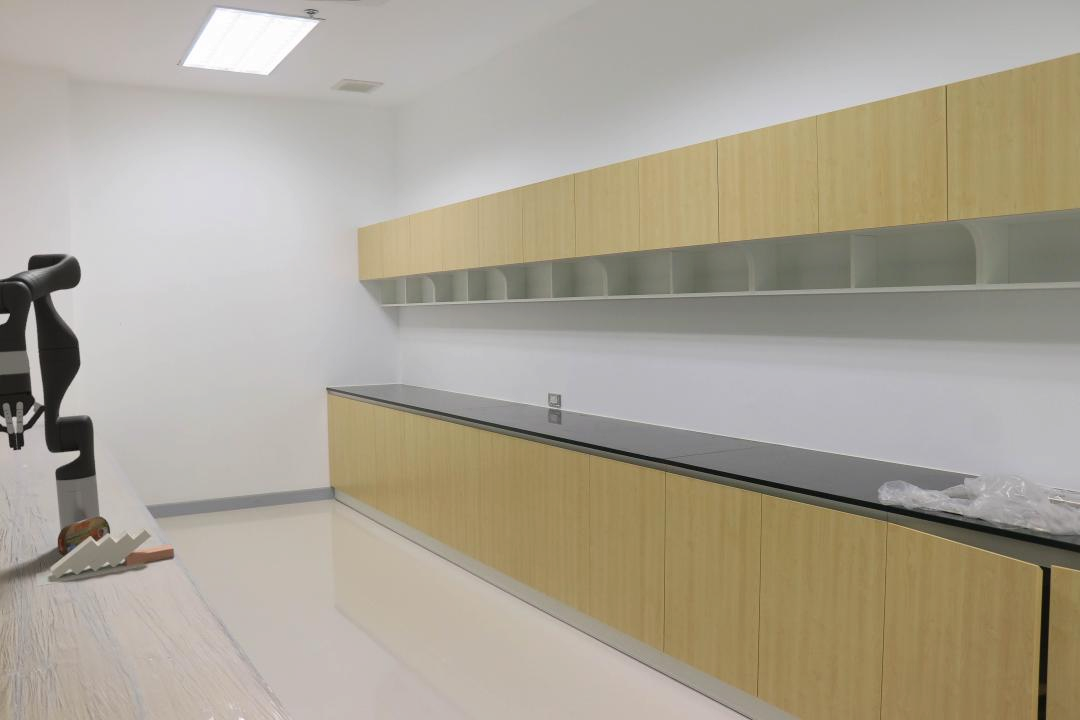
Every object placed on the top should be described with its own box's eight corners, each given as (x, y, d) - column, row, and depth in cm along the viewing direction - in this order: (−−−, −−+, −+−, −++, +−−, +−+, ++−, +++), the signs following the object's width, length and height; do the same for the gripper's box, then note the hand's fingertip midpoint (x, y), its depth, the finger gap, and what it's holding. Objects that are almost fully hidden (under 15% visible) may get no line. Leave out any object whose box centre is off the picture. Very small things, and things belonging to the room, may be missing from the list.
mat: (36, 575, 187) (36, 573, 187) (139, 556, 198) (138, 555, 198) (37, 588, 177) (37, 586, 177) (145, 567, 188) (145, 565, 188)
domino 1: (50, 567, 185) (90, 535, 189) (56, 573, 186) (96, 542, 190) (51, 572, 181) (91, 539, 185) (57, 578, 182) (98, 546, 186)
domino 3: (87, 560, 189) (125, 529, 193) (93, 566, 190) (131, 535, 194) (88, 565, 185) (127, 533, 189) (95, 571, 185) (133, 539, 189)
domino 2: (69, 563, 187) (108, 532, 191) (75, 570, 188) (114, 538, 192) (70, 568, 183) (109, 536, 187) (76, 575, 183) (116, 542, 188)
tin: (67, 563, 196) (64, 528, 196) (56, 563, 197) (53, 528, 197) (112, 545, 211) (109, 513, 211) (101, 545, 212) (99, 513, 211)
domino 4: (105, 556, 191) (142, 526, 195) (111, 562, 192) (148, 532, 196) (107, 561, 187) (145, 530, 191) (113, 567, 187) (151, 536, 191)
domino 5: (124, 552, 193) (170, 544, 198) (124, 561, 193) (170, 552, 198) (126, 556, 189) (173, 548, 194) (126, 565, 189) (174, 556, 194)
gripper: (44, 369, 190) (51, 444, 190) (-25, 374, 183) (-18, 452, 183) (45, 370, 183) (52, 447, 184) (-27, 375, 176) (-20, 455, 177)
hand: (17, 449), depth 184 cm, fingers closed
